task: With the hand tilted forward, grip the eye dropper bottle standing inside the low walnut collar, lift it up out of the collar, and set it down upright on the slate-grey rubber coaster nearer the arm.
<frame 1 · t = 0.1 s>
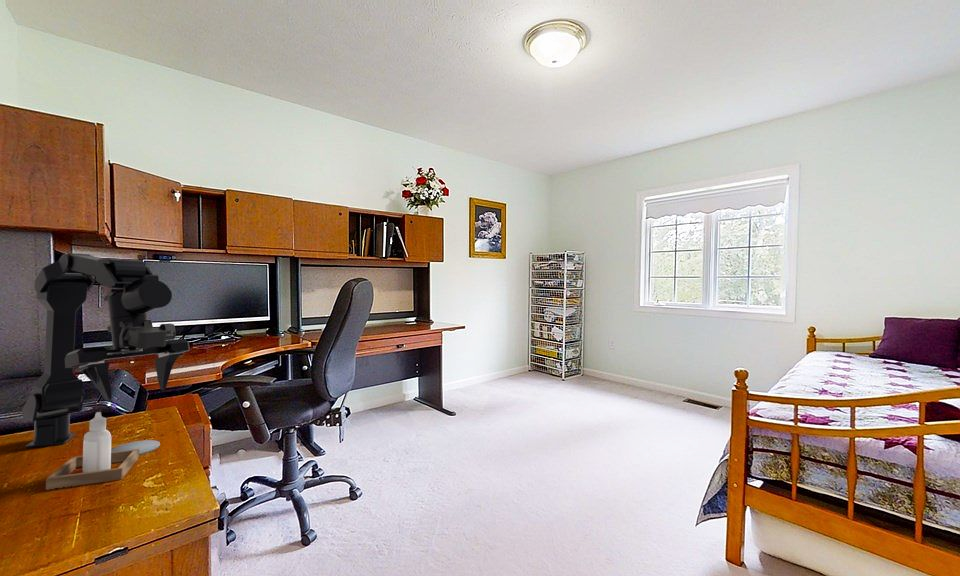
hand: (137, 394, 81), 15 cm above the table, tool pointing down, fingers open, 9 cm apart
rubber coaster: (134, 449, 91), on the table
eye dropper bottle: (96, 473, 80), resting in walnut collar
walnut collar: (96, 472, 80), on the table
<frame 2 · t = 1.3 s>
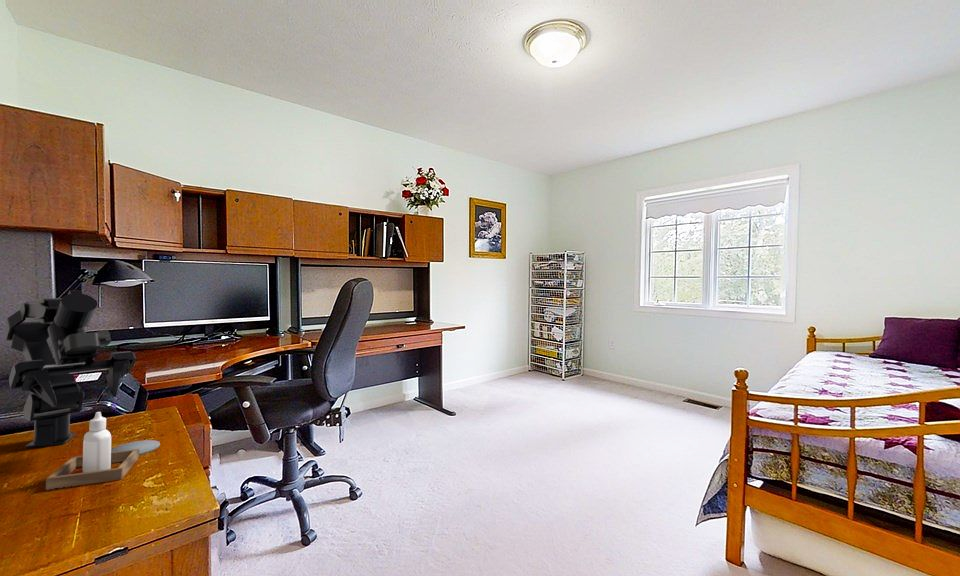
hand: (86, 400, 84), 13 cm above the table, tool tilted 45°, fingers open, 9 cm apart
nothing on the table moved.
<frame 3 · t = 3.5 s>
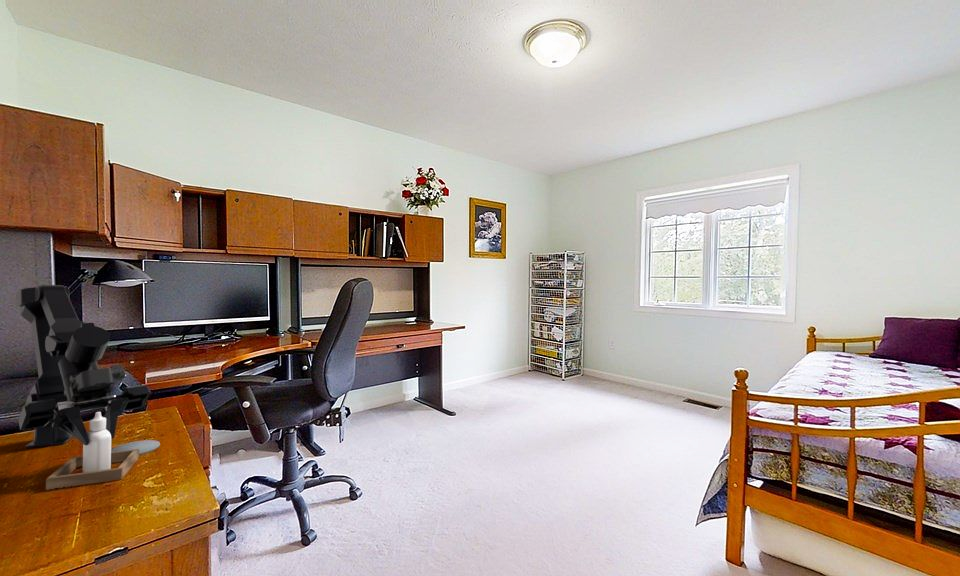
hand: (100, 441, 79), 7 cm above the table, tool tilted 45°, fingers closed on eye dropper bottle, 3 cm apart
eye dropper bottle: (96, 473, 80), resting in walnut collar, touching gripper
when the fingers open (8 cm above the table, at t = 7.7 s): eye dropper bottle stays where it is, resting on rubber coaster.
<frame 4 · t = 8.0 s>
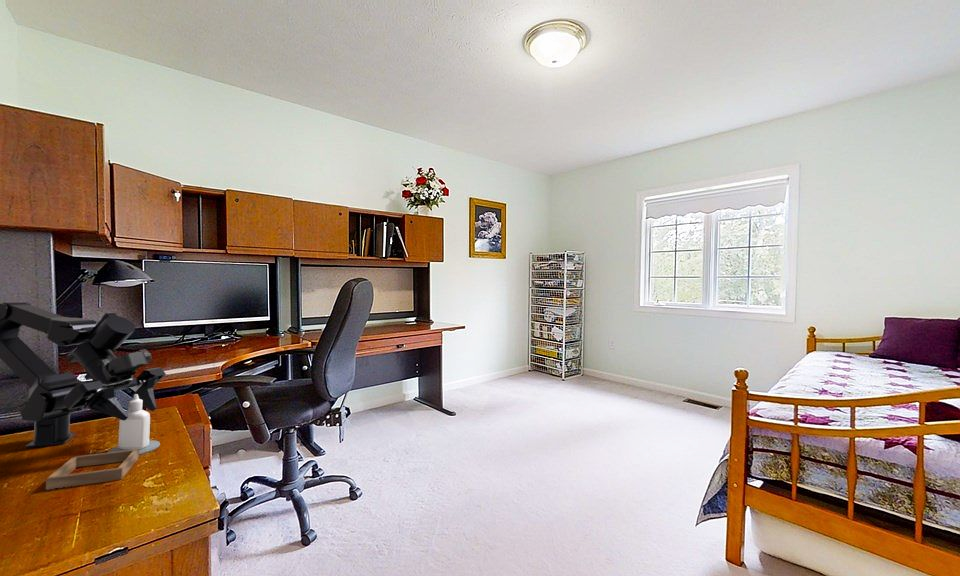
hand: (141, 414, 91), 8 cm above the table, tool tilted 45°, fingers open, 6 cm apart
eye dropper bottle: (133, 448, 91), resting on rubber coaster
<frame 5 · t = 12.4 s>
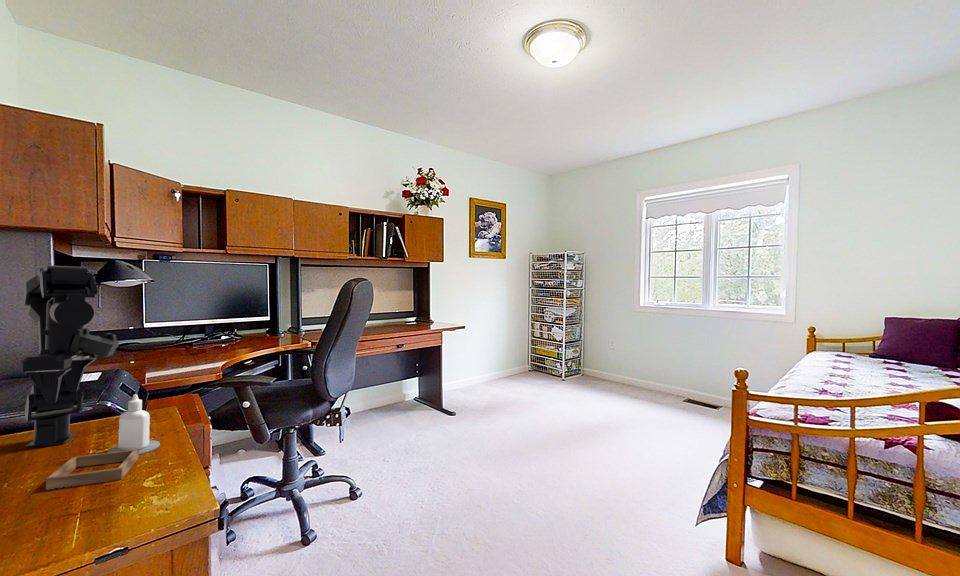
hand: (63, 396, 86), 13 cm above the table, tool pointing down, fingers open, 9 cm apart
nothing on the table moved.
at the end: eye dropper bottle 0.2 cm off-centre on the rubber coaster, point 0.2 cm above the rubber coaster's base; eye dropper bottle tilted 0°; eye dropper bottle touching rubber coaster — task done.
